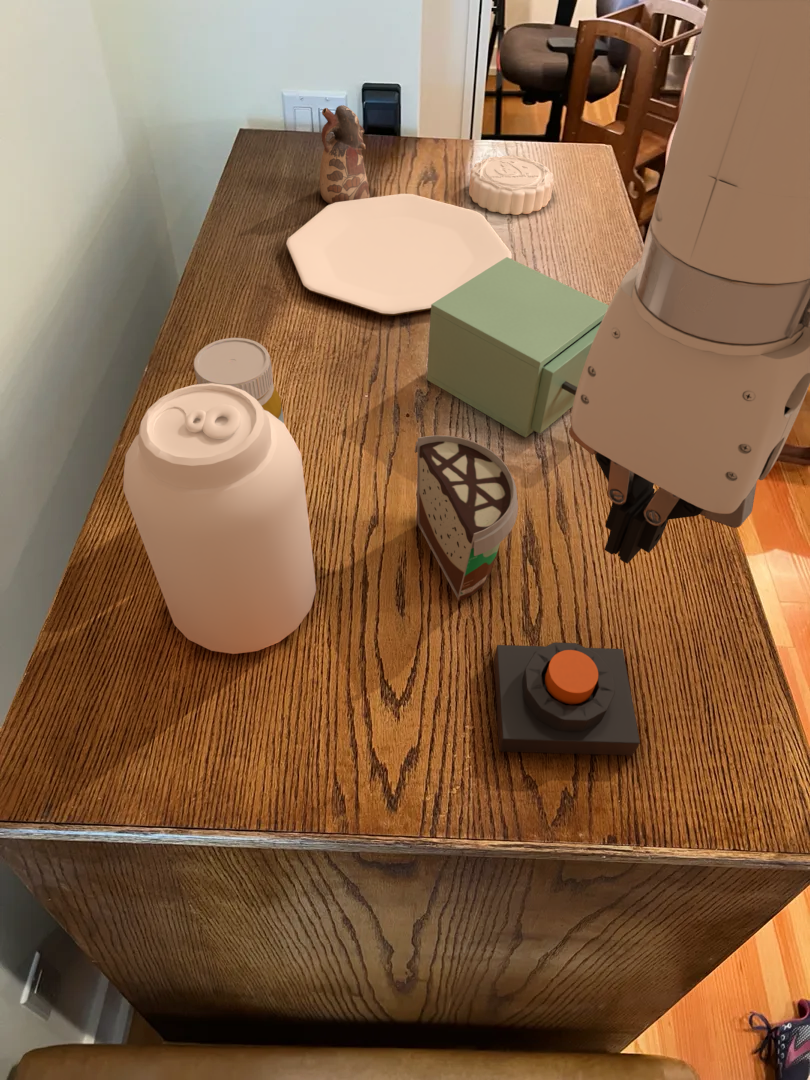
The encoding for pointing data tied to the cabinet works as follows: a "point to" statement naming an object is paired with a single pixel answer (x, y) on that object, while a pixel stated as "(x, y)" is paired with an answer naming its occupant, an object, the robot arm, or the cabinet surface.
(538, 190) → the mooncake
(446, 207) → the plate
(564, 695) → the button
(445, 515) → the food container
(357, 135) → the figurine
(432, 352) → the green drawer box
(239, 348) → the bottle
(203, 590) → the can
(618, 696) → the block
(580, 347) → the green cabinet drawer
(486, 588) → the cabinet surface
